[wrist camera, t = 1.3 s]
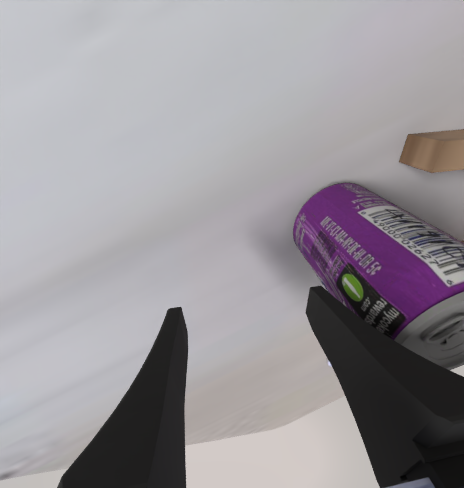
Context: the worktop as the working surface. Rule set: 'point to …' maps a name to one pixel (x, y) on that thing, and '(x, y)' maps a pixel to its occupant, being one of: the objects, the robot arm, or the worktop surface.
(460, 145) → the pin nest
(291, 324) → the worktop surface
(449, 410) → the robot arm
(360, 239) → the beverage can
